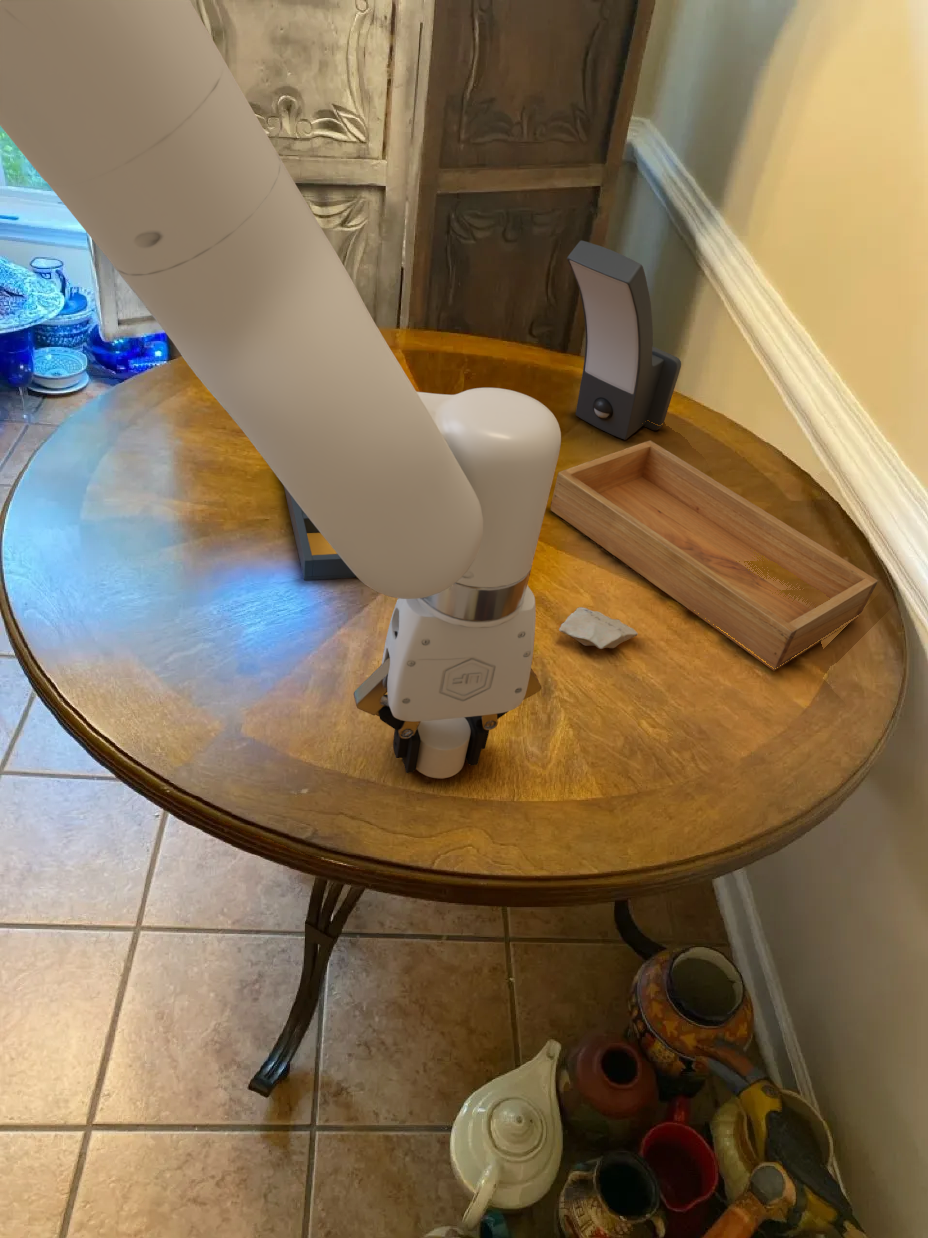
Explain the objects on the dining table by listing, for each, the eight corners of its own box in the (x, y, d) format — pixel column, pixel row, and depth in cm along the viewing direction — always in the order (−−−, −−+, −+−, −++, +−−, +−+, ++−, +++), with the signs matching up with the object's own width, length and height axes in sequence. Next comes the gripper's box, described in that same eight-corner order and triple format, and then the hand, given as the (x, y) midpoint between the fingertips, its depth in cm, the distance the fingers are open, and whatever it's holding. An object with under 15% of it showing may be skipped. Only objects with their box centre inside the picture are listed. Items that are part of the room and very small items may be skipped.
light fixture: (519, 435, 114) (558, 237, 99) (596, 396, 125) (642, 213, 110) (590, 472, 110) (643, 271, 94) (663, 429, 121) (721, 242, 105)
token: (416, 782, 70) (421, 752, 68) (404, 739, 73) (408, 710, 71) (471, 775, 72) (477, 746, 69) (456, 733, 75) (462, 704, 73)
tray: (548, 511, 102) (558, 468, 98) (638, 478, 110) (651, 436, 107) (769, 678, 86) (792, 633, 82) (855, 623, 94) (879, 580, 90)
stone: (581, 611, 90) (547, 639, 86) (586, 592, 88) (552, 620, 84) (636, 641, 87) (605, 671, 83) (642, 622, 86) (610, 652, 82)
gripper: (356, 620, 56) (339, 806, 67) (608, 603, 60) (551, 780, 72) (336, 546, 61) (323, 731, 73) (569, 536, 66) (522, 711, 78)
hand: (437, 754), depth 72 cm, fingers closed on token, 4 cm apart
